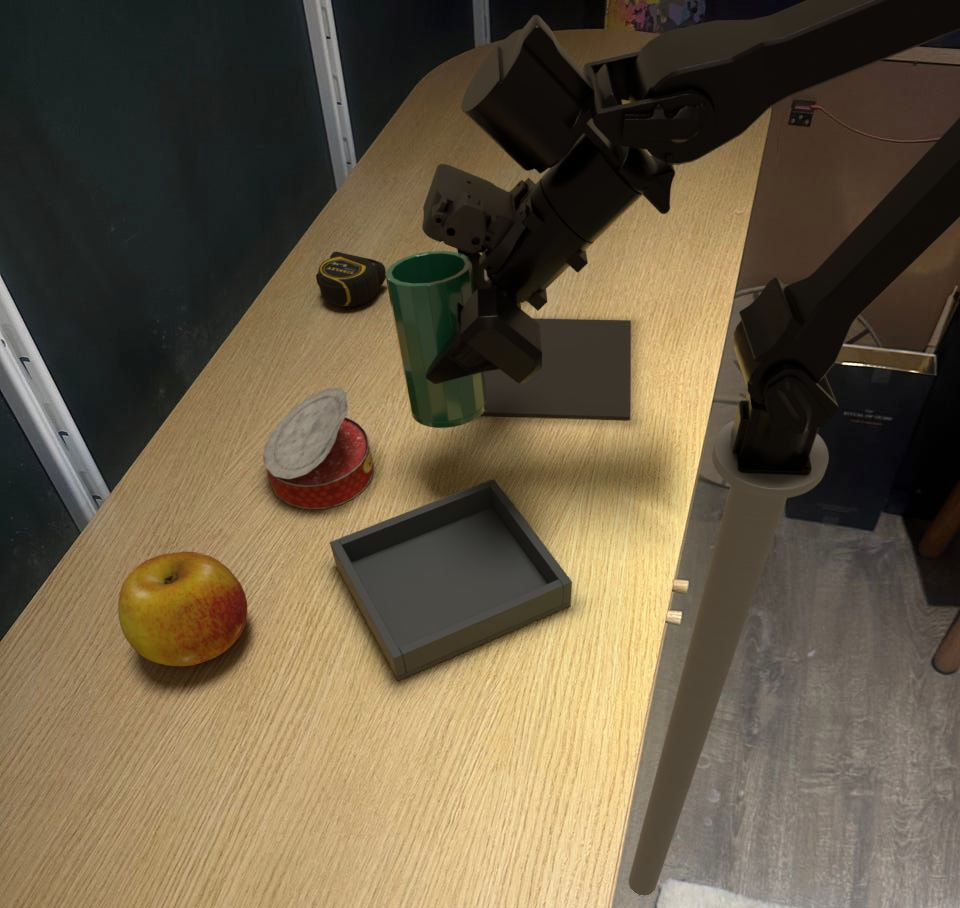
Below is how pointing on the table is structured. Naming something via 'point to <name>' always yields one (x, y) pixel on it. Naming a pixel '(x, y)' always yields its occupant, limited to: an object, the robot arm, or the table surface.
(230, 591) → the fruit
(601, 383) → the mat
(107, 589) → the table surface
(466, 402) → the cup
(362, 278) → the tape measure
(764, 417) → the robot arm
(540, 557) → the tray
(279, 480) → the canned food
